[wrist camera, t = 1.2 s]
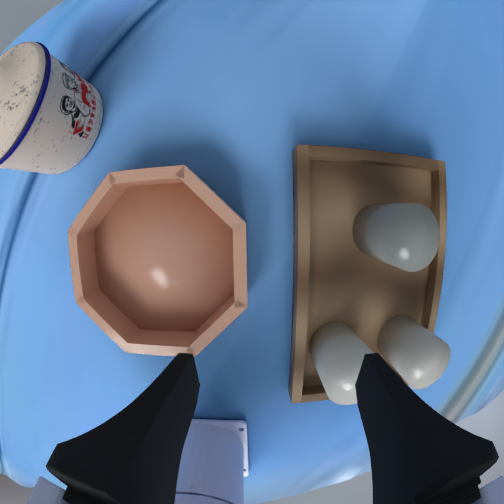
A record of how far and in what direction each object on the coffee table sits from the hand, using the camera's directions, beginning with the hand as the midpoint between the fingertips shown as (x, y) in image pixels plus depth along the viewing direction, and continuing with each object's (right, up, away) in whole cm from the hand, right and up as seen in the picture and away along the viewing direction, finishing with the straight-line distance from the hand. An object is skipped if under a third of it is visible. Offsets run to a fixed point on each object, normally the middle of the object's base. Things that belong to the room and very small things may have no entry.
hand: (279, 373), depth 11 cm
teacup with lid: (-18, +17, +8) cm, 26 cm away
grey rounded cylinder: (+8, +7, +9) cm, 14 cm away
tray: (+8, +3, +10) cm, 13 cm away
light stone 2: (+11, -2, +10) cm, 15 cm away
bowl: (-8, +4, +9) cm, 13 cm away
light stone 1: (+5, -2, +10) cm, 12 cm away
